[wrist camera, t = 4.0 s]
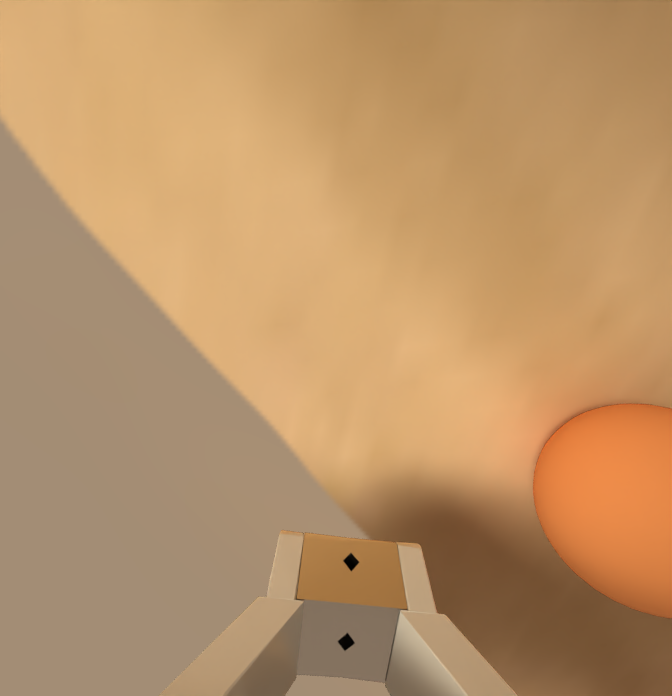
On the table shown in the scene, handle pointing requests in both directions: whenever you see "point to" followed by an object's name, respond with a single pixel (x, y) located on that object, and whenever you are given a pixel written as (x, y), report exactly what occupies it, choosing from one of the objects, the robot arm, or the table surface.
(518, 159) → the table surface
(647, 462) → the ball
